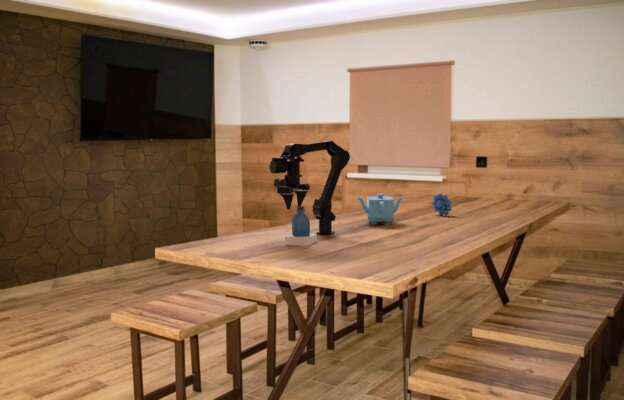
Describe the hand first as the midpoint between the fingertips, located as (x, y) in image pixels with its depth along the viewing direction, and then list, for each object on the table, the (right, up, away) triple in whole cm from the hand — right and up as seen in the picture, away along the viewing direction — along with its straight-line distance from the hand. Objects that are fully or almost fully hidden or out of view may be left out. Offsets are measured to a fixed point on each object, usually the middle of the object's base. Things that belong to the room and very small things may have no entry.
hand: (294, 208), depth 261 cm
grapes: (+78, -5, +62) cm, 100 cm away
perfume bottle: (+3, -11, -13) cm, 17 cm away
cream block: (+3, -15, -12) cm, 19 cm away
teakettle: (+42, -8, +40) cm, 59 cm away
